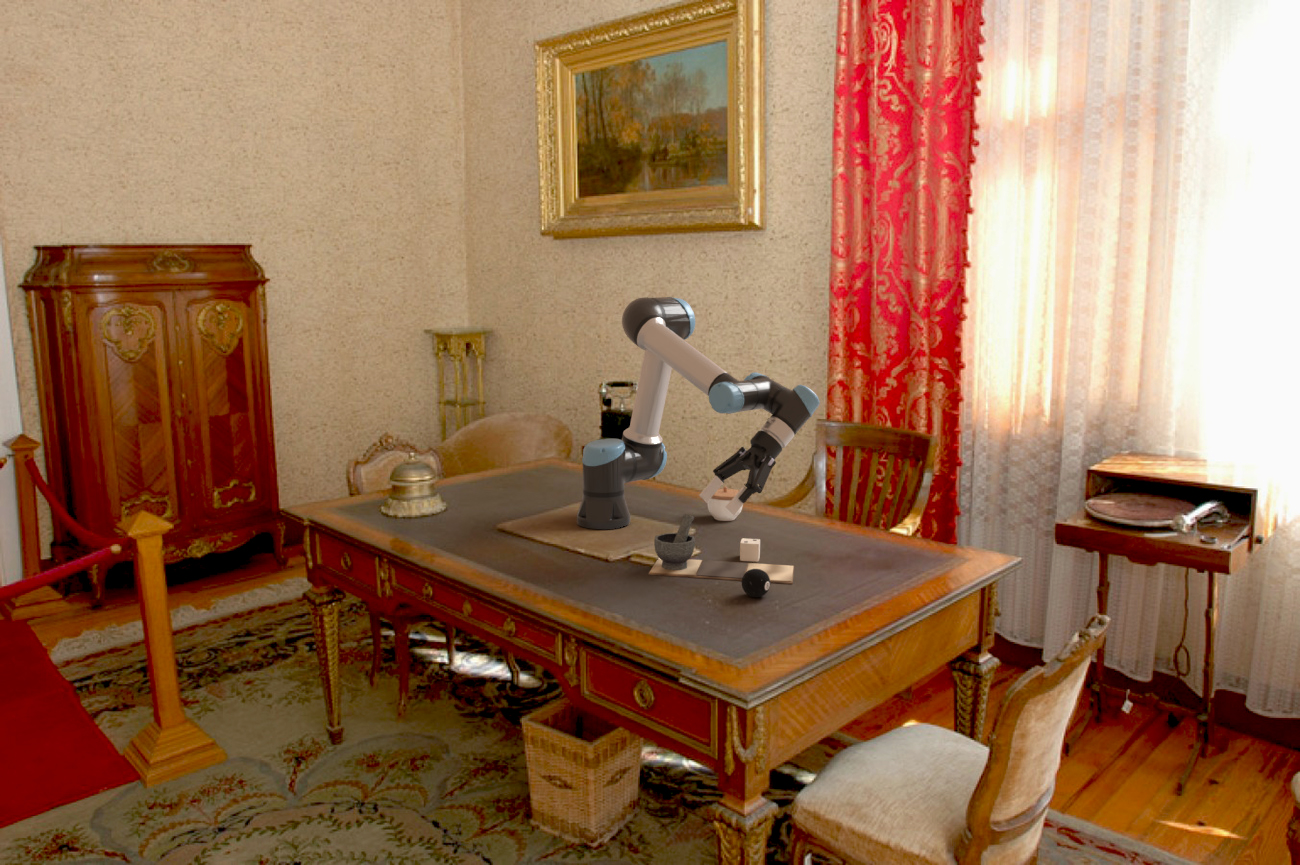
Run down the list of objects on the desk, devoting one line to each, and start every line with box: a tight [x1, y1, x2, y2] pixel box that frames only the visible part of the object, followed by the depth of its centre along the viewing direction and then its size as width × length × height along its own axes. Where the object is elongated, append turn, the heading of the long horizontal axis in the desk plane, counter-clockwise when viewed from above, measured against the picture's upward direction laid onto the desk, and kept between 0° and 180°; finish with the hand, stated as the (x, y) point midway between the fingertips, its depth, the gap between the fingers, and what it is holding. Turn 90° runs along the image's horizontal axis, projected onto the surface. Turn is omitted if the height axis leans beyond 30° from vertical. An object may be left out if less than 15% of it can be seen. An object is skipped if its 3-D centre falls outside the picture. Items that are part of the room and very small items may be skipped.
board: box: [647, 558, 795, 585], centre depth 212 cm, size 33×13×1 cm, turn 79°
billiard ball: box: [741, 569, 771, 598], centre depth 194 cm, size 6×6×6 cm
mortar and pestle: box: [654, 513, 696, 570], centre depth 213 cm, size 11×9×12 cm
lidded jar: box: [706, 486, 744, 522], centre depth 262 cm, size 11×11×9 cm
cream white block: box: [739, 538, 761, 563], centre depth 222 cm, size 4×4×5 cm
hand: (715, 504), depth 217 cm, fingers open, 13 cm apart
